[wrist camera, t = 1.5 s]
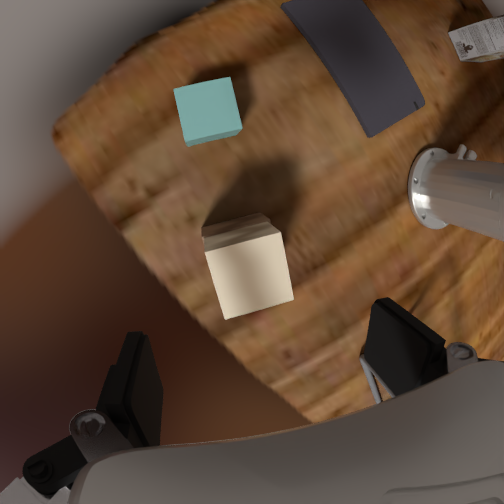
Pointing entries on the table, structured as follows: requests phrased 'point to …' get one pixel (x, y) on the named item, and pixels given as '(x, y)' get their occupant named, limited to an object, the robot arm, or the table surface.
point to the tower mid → (249, 269)
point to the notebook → (358, 59)
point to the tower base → (233, 224)
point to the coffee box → (480, 40)
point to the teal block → (208, 111)
